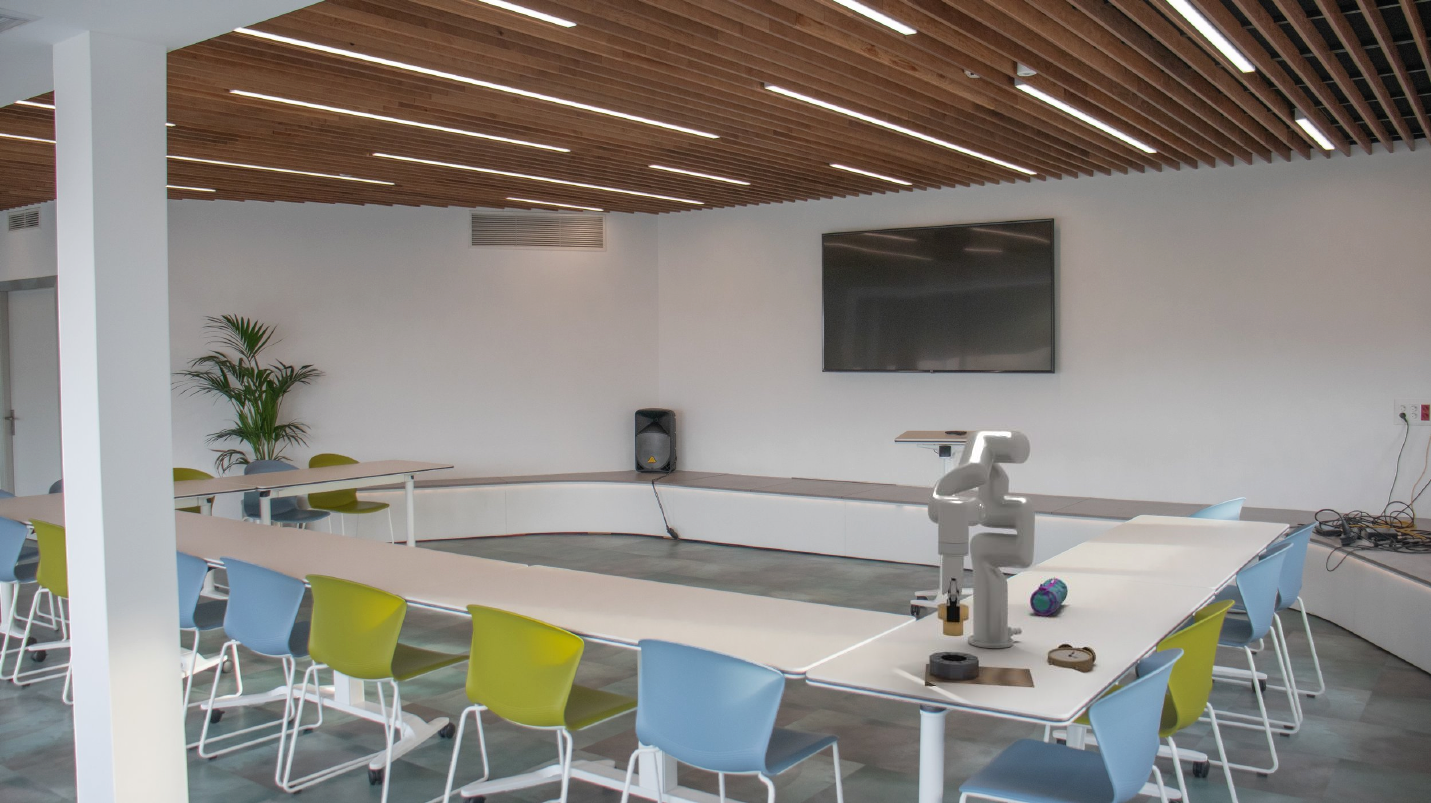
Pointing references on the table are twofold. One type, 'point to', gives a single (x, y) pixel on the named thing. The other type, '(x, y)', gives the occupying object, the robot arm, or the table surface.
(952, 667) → the grey faceted ring
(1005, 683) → the mount
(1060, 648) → the alarm clock
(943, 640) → the table surface
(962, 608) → the cap
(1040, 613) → the pencil case
